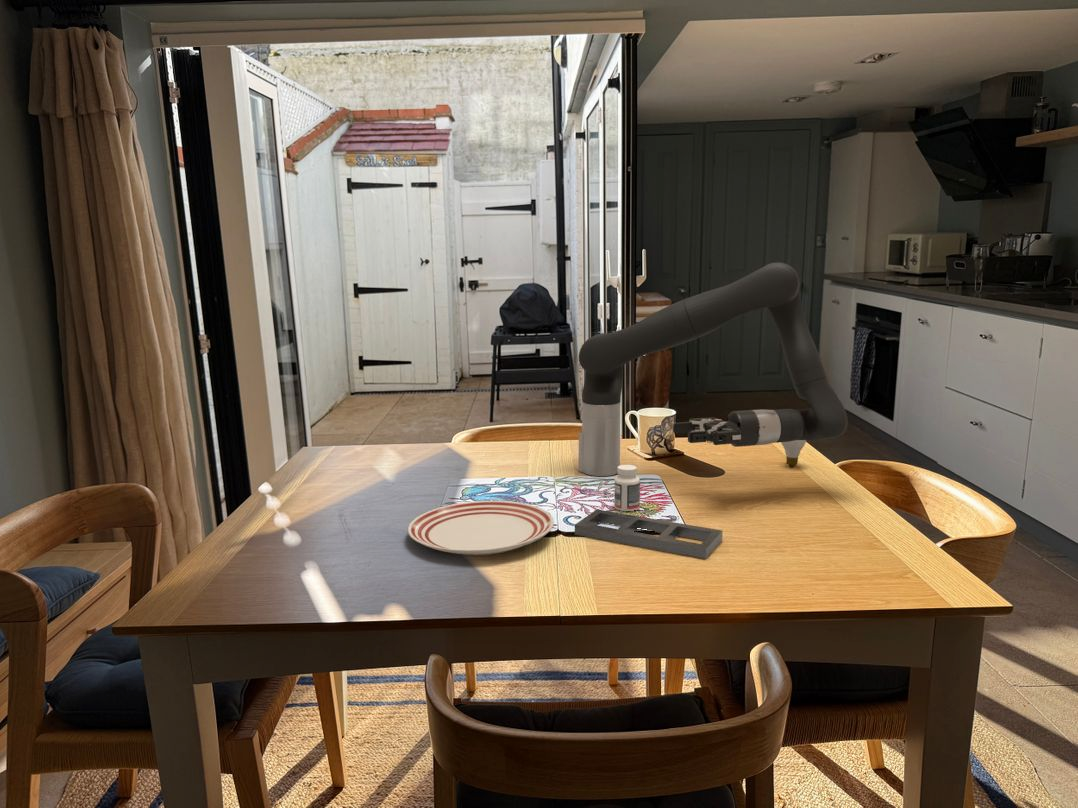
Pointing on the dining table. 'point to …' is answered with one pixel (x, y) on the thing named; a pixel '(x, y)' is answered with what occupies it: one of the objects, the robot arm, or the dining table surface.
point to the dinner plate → (481, 527)
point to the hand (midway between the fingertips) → (680, 432)
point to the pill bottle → (627, 489)
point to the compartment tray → (660, 543)
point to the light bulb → (793, 451)
